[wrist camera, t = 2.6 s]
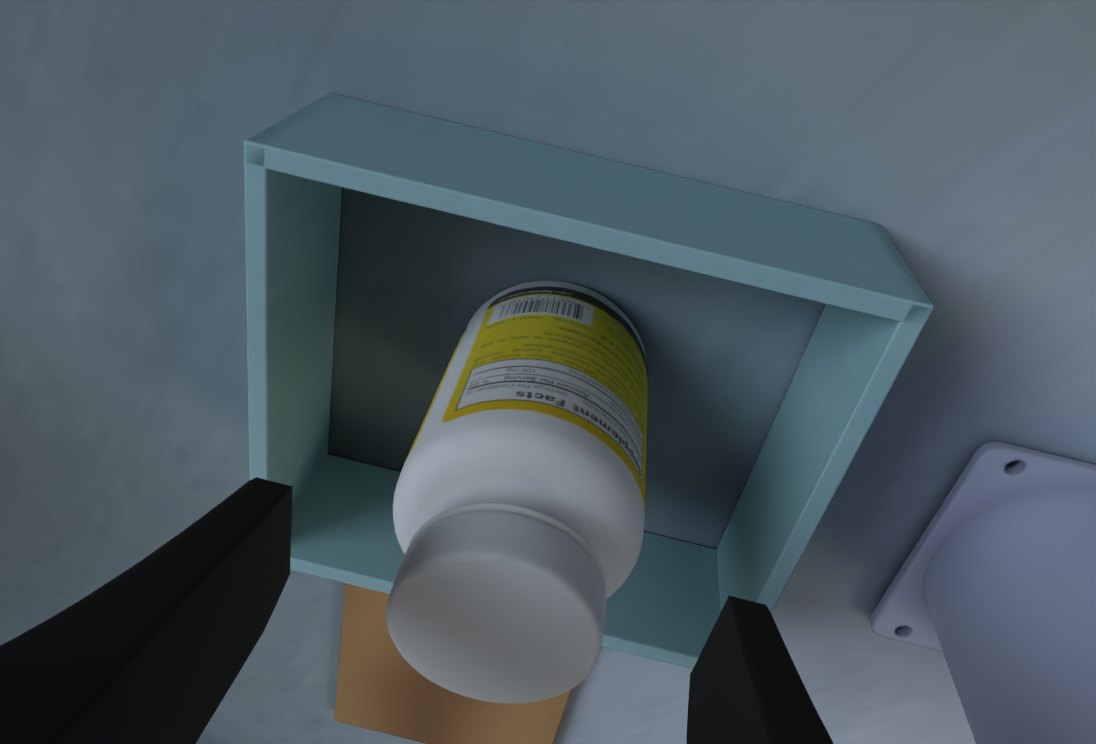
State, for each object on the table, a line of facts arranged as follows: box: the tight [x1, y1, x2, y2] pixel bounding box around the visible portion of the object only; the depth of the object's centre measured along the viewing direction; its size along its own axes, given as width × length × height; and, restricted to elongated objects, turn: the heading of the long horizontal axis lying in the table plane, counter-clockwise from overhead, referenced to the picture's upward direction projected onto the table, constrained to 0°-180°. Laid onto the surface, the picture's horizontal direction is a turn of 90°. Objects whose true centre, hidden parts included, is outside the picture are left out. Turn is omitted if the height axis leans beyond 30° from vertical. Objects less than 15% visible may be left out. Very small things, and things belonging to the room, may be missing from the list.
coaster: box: [334, 583, 572, 744], centre depth 30 cm, size 9×9×1 cm
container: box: [244, 93, 933, 669], centre depth 20 cm, size 14×12×4 cm
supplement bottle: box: [386, 281, 648, 704], centre depth 18 cm, size 5×5×10 cm
